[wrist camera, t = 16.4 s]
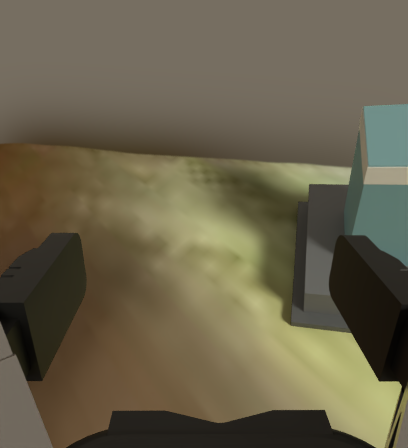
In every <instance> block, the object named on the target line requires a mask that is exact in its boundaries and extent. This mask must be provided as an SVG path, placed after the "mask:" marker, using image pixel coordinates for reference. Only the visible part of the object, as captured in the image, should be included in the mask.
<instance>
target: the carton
mask: <svg viewBox="0 0 408 448" xmlns="http://www.w3.org/2000/svg"><path fill="white" fill-rule="evenodd" d="M344 231H345V235H365V236H367V237H368V238H369V239H370V240H371V241H372V242H373V243H374V244H375V245H376V246H377V247H378V248H379V249H380V250H381V251H384V252H386V253H388V254H390V255H392V256H393V257H395V258H397V259H399V260H400V261H401V262H402V263H403V264H404V265H405V266H408V104H403V105H381V106H364V107H363V108H362V112H361V118H360V123H359V133H358V139H357V144H356V150H355V155H354V160H353V165H352V171H351V176H350V181H349V187H348V192H347V197H346V203H345V208H344Z"/></svg>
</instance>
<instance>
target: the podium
mask: <svg viewBox="0 0 408 448" xmlns="http://www.w3.org/2000/svg"><path fill="white" fill-rule="evenodd" d="M348 187H349V185H326V184H309V200H308V202H298V217H297V234H296V250H295V266H294V282H293V298H292V315H291V326H298V327H306V328H314V329H323V330H331V331H339V332H348V333H351V331H350V329H349V328H348V326H347V324H346V323H345V321H344V319H343V317H342V316H341V314H340V312H339V310H338V309H337V307H336V305H335V303H334V302H333V300H332V298H331V295H330V292H329V276H330V270H331V265H332V259H333V254H334V249H335V244H336V240H337V238H338V236H340V235H345V231H344V208H345V203H346V197H347V192H348ZM406 267H407V268H408V266H406Z"/></svg>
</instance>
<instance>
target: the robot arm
mask: <svg viewBox="0 0 408 448" xmlns="http://www.w3.org/2000/svg"><path fill="white" fill-rule="evenodd" d="M85 291H86V272H85V265H84V258H83V251H82V244H81V239H80V236H79V234H78V233H51V234H50V235H49V236H48V237H47V239H46V240H45V241H44V242H43V243H42V244H41V245H40V246H39V248H33V249H32V250H30V251H28V252H26V253H25V254H23V255H21V256H19V257H18V258H17V259H16V260H15V261H14V262H13V263H12V264H11V265H10V267H9V269H7V270H6V271H5V272H4V273H3V274H2V275H1V277H0V448H53V447H52V444H51V441H50V439H49V436H48V434H47V431H46V429H45V426H44V424H43V421H42V419H41V416H40V414H39V411H38V409H37V406H36V404H35V401H34V399H33V396H32V394H31V391H30V389H29V386H28V384H27V381H42V380H43V378H44V376H45V374H46V372H47V370H48V368H49V366H50V364H51V362H52V360H53V358H54V356H55V354H56V352H57V350H58V348H59V346H60V344H61V342H62V340H63V338H64V336H65V334H66V332H67V330H68V328H69V326H70V324H71V322H72V320H73V318H74V316H75V314H76V312H77V310H78V308H79V306H80V304H81V302H82V300H83V298H84V295H85ZM329 292H330V295H331V298H332V300H333V302H334V303H335V305H336V307H337V309H338V310H339V312H340V314H341V316H342V317H343V319H344V321H345V323H346V324H347V326H348V328H349V329H350V331H351V333H352V335H353V336H354V338H355V340H356V342H357V343H358V345H359V347H360V349H361V350H362V352H363V354H364V356H365V357H366V359H367V361H368V363H369V364H370V366H371V368H372V370H373V371H374V373H375V375H376V377H377V378H378V380H379V381H399V382H400V384H401V385H402V388H401V391H400V394H399V397H398V400H397V404H396V408H395V411H394V415H393V419H392V422H391V426H390V430H389V433H388V437H387V441H386V444H385V448H408V268H407V267H406V266H405V265H404V264H403V263H402V262H401V261H400V260H399V259H397V258H395V257H393V256H392V255H390V254H388V253H386V252H384V251H381V250H380V249H379V248H378V247H377V246H376V245H375V244H374V243H373V242H372V241H371V240H370V239H369V238H368V237H367V236H365V235H340V236H338V238H337V240H336V244H335V249H334V254H333V259H332V265H331V270H330V276H329ZM66 448H375V447H374V446H372V445H370V444H368V443H367V442H365V441H363V440H361V439H358V438H356V437H354V436H352V435H349V434H347V433H344V432H341V431H338V430H334V429H332V428H331V426H330V423H329V420H328V418H327V415H326V412H325V410H272V411H268V412H265V413H261V414H257V415H253V416H249V417H245V418H241V419H237V420H233V421H230V422H225V423H214V422H210V421H206V420H202V419H198V418H194V417H189V416H185V415H181V414H177V413H173V412H169V411H113V412H112V416H111V420H110V424H109V428H108V430H104V431H101V432H98V433H95V434H92V435H90V436H87V437H85V438H83V439H81V440H79V441H77V442H75V443H73V444H71V445H70V446H68V447H66Z"/></svg>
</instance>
